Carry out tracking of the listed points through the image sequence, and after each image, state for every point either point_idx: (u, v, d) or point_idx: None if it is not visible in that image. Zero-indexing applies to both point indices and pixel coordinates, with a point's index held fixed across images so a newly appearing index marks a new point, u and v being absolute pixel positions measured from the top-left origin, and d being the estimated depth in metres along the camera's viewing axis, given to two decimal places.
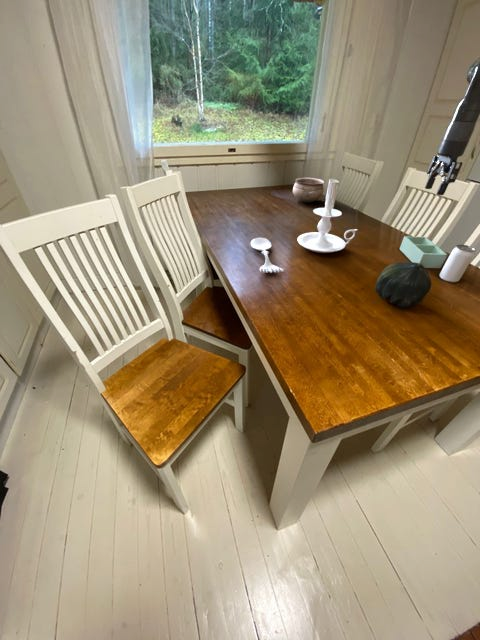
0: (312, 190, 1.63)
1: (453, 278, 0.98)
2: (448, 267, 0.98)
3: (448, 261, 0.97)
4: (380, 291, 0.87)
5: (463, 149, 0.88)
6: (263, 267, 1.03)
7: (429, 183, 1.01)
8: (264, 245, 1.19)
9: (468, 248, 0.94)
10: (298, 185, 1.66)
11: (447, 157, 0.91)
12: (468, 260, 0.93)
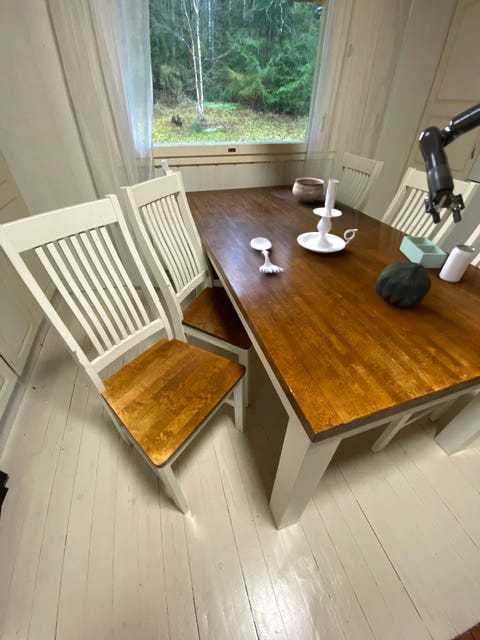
0: (312, 190, 1.63)
1: (453, 278, 0.98)
2: (448, 267, 0.98)
3: (448, 261, 0.97)
4: (380, 291, 0.87)
5: (437, 185, 0.99)
6: (263, 267, 1.03)
7: (454, 217, 1.01)
8: (264, 245, 1.19)
9: (468, 248, 0.94)
10: (298, 185, 1.66)
11: None
12: (468, 260, 0.93)
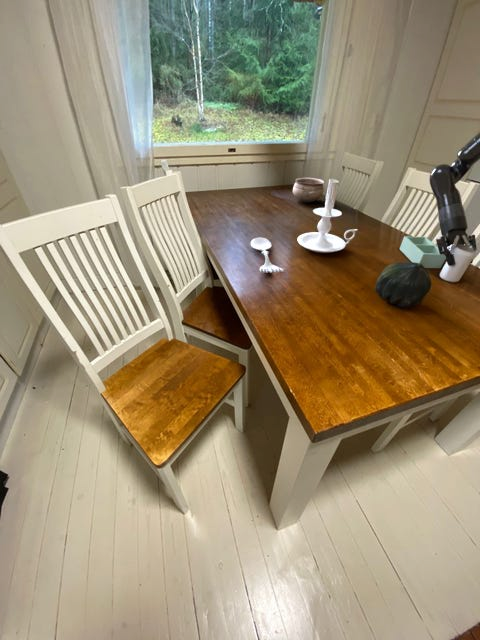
0: (312, 190, 1.63)
1: (453, 278, 0.98)
2: (448, 267, 0.98)
3: None
4: (380, 291, 0.87)
5: (449, 225, 0.96)
6: (263, 267, 1.03)
7: None
8: (264, 245, 1.19)
9: (469, 248, 0.94)
10: (298, 185, 1.66)
11: None
12: (469, 260, 0.93)
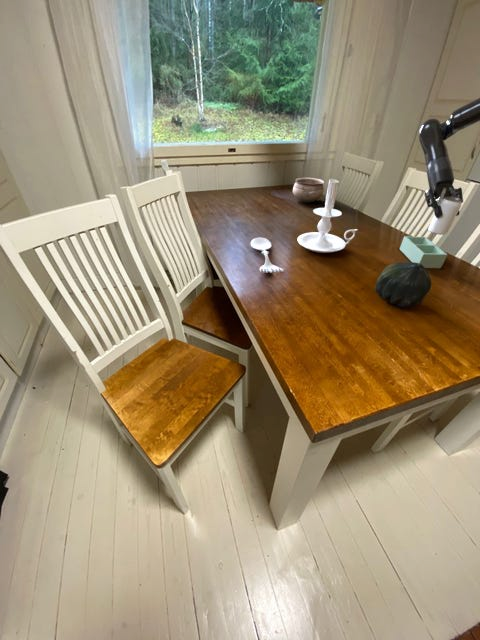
0: (312, 190, 1.63)
1: (441, 230, 1.02)
2: (436, 219, 1.01)
3: None
4: (380, 291, 0.87)
5: (437, 177, 0.99)
6: (263, 267, 1.03)
7: None
8: (264, 245, 1.19)
9: (455, 199, 0.98)
10: (298, 185, 1.66)
11: None
12: (455, 211, 0.97)
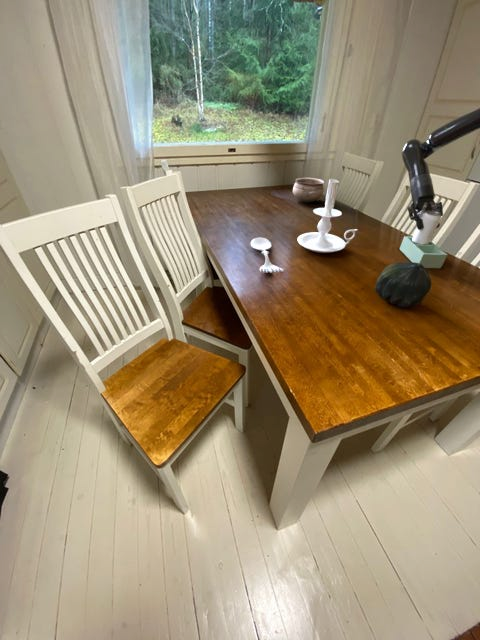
0: (312, 190, 1.63)
1: (423, 241, 1.10)
2: (418, 231, 1.10)
3: None
4: (380, 291, 0.87)
5: (418, 193, 1.08)
6: (263, 267, 1.03)
7: None
8: (264, 245, 1.19)
9: (435, 213, 1.07)
10: (298, 185, 1.66)
11: None
12: (435, 223, 1.06)
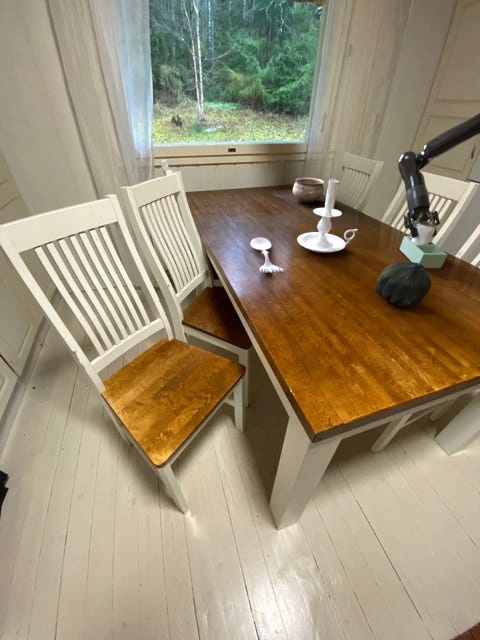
0: (312, 190, 1.63)
1: None
2: (413, 241, 1.13)
3: None
4: (380, 291, 0.87)
5: (414, 203, 1.10)
6: (263, 267, 1.03)
7: None
8: (264, 245, 1.19)
9: (430, 224, 1.10)
10: (298, 185, 1.66)
11: None
12: (430, 234, 1.09)
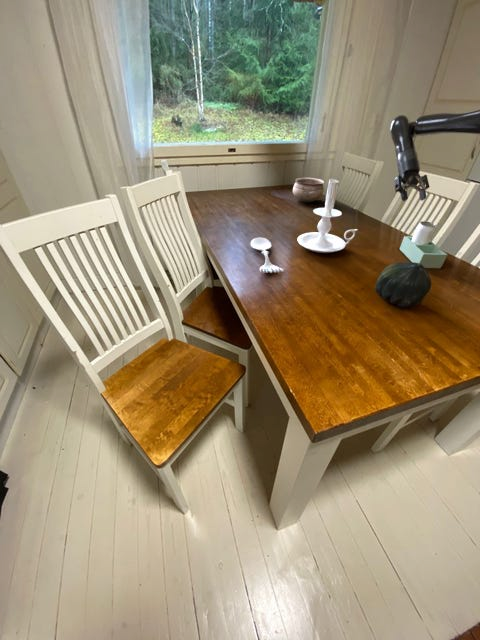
0: (312, 190, 1.63)
1: None
2: (413, 241, 1.13)
3: (414, 236, 1.13)
4: (380, 291, 0.87)
5: (405, 167, 1.13)
6: (263, 267, 1.03)
7: (421, 195, 1.15)
8: (264, 245, 1.19)
9: (430, 224, 1.10)
10: (298, 185, 1.66)
11: None
12: (430, 234, 1.09)
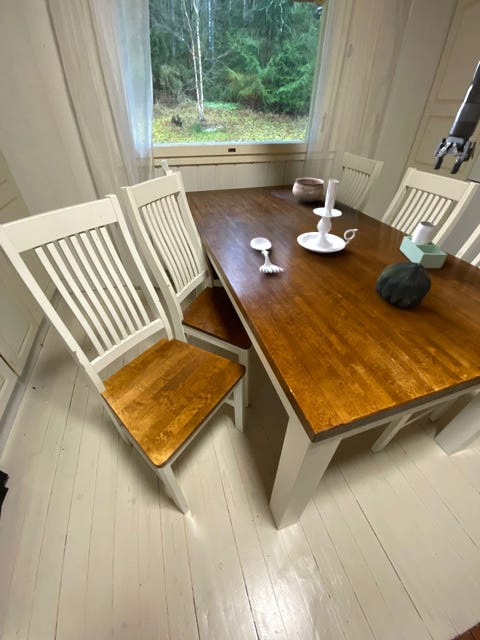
0: (312, 190, 1.63)
1: None
2: (413, 241, 1.13)
3: (414, 236, 1.13)
4: (380, 291, 0.87)
5: (474, 129, 0.94)
6: (263, 267, 1.03)
7: (438, 164, 1.07)
8: (264, 245, 1.19)
9: (430, 224, 1.10)
10: (298, 185, 1.66)
11: (459, 138, 0.97)
12: (430, 234, 1.09)
